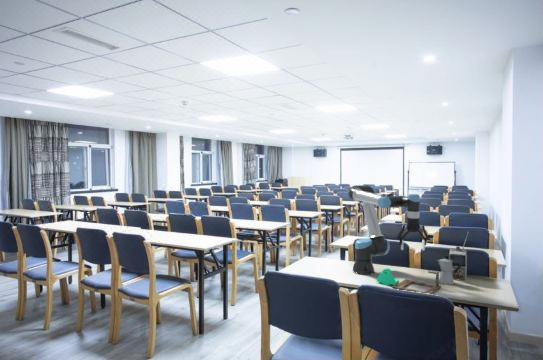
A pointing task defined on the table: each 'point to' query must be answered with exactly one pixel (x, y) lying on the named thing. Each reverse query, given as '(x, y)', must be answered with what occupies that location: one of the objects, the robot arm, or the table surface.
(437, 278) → the open wooden square frame
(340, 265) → the table surface
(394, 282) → the camera mount
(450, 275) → the coffee maker
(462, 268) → the portable television
